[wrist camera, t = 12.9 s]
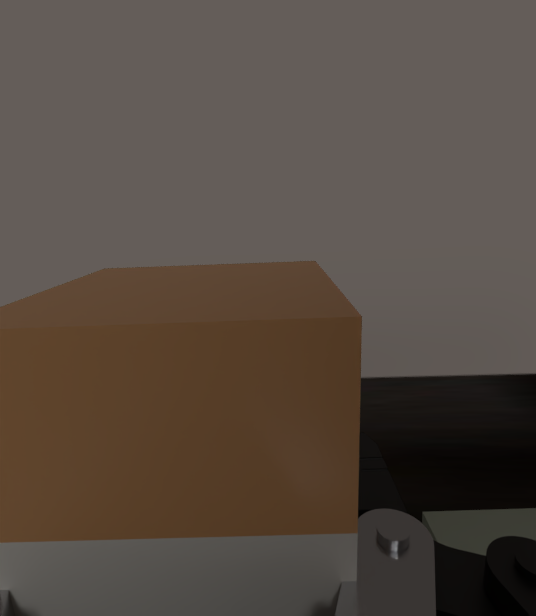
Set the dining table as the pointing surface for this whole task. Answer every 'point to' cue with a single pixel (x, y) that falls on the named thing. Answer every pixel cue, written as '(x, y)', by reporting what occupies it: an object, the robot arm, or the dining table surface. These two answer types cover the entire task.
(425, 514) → the grey boxy piece
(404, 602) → the robot arm
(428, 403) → the dining table surface
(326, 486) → the orange and grey block
